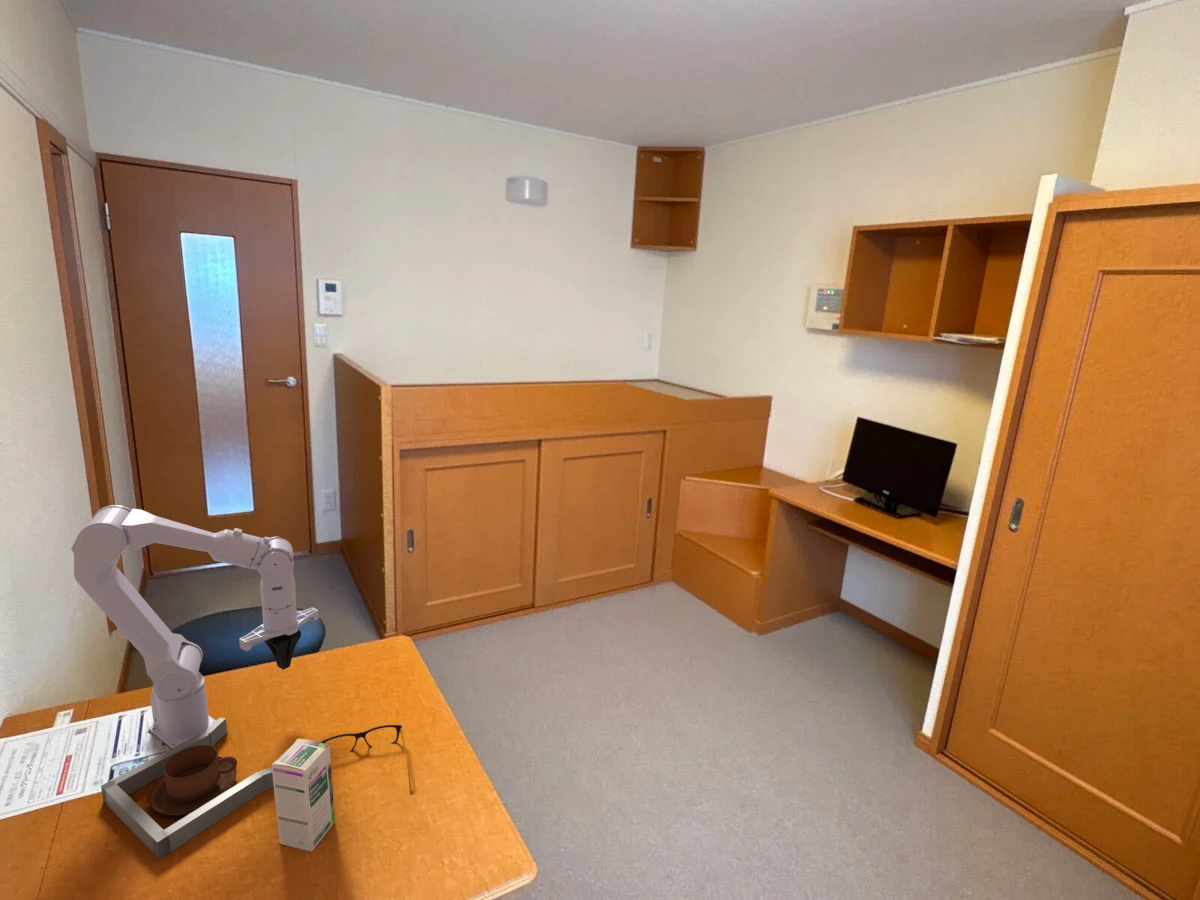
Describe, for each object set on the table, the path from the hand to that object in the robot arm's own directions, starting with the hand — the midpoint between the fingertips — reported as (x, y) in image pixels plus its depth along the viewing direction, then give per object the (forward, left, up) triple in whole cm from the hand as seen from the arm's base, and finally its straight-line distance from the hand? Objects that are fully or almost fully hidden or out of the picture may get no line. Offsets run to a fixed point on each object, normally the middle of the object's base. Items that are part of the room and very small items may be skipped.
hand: (283, 666), depth 119 cm
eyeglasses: (+26, -2, -10) cm, 28 cm away
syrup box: (+29, -15, -10) cm, 34 cm away
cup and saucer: (+7, -21, -10) cm, 24 cm away
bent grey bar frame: (+7, -20, -9) cm, 23 cm away
